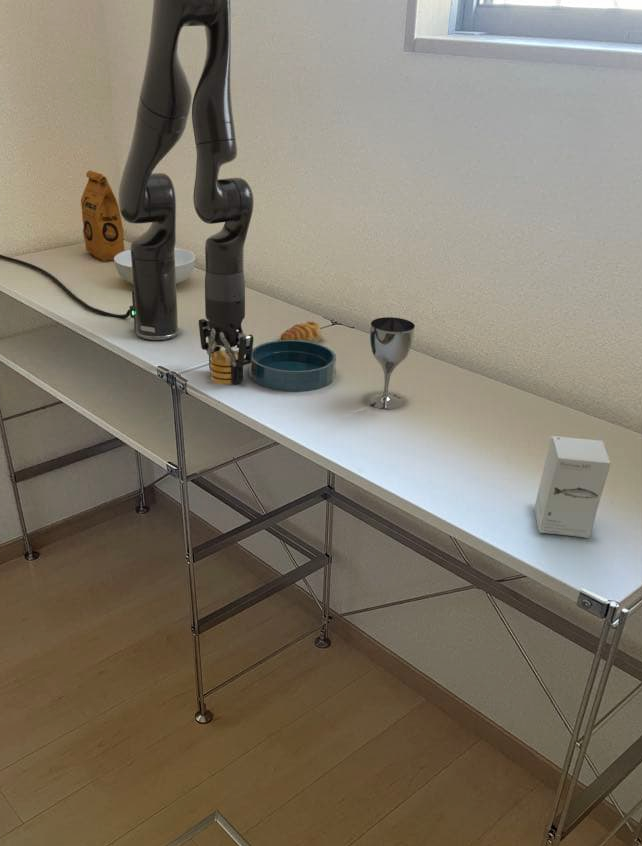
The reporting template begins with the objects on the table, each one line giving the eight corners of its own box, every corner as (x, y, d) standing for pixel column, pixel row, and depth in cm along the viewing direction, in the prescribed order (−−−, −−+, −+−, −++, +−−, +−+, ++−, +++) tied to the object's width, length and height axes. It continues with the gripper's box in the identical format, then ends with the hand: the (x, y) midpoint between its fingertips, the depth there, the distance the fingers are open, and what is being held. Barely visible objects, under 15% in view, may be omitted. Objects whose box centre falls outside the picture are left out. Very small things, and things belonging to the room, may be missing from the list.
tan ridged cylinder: (204, 379, 164) (204, 354, 162) (227, 372, 168) (227, 347, 165) (223, 389, 161) (223, 363, 158) (247, 381, 164) (247, 356, 161)
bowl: (231, 374, 167) (231, 353, 164) (293, 354, 177) (294, 334, 174) (290, 401, 157) (291, 379, 154) (352, 378, 166) (353, 357, 164)
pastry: (292, 350, 179) (293, 333, 176) (273, 341, 183) (273, 325, 181) (324, 341, 184) (325, 325, 181) (305, 333, 188) (305, 316, 186)
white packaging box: (537, 534, 120) (556, 457, 113) (533, 508, 126) (550, 433, 119) (590, 540, 119) (612, 462, 112) (583, 513, 125) (603, 438, 118)
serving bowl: (154, 267, 229) (152, 241, 225) (212, 281, 219) (211, 255, 215) (98, 284, 214) (96, 257, 211) (158, 301, 204) (157, 272, 201)
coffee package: (96, 263, 230) (88, 178, 218) (82, 252, 239) (73, 170, 227) (130, 259, 234) (124, 176, 222) (114, 248, 243) (108, 168, 231)
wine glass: (378, 412, 153) (386, 334, 145) (356, 396, 159) (362, 320, 151) (413, 405, 156) (423, 328, 148) (390, 389, 162) (398, 315, 154)
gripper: (185, 288, 157) (188, 371, 166) (234, 307, 148) (235, 394, 157) (216, 281, 161) (217, 362, 170) (265, 299, 152) (264, 384, 162)
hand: (226, 377), depth 164 cm, fingers closed on tan ridged cylinder, 6 cm apart
